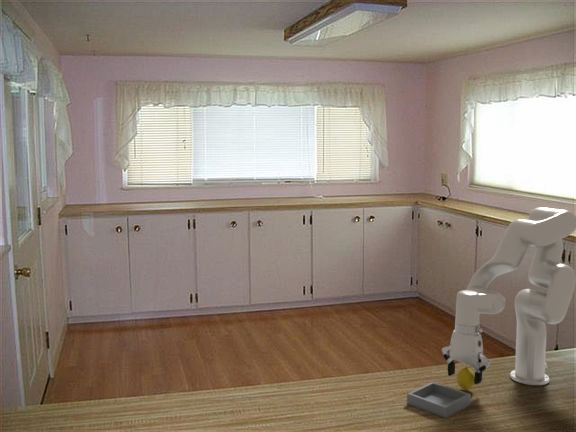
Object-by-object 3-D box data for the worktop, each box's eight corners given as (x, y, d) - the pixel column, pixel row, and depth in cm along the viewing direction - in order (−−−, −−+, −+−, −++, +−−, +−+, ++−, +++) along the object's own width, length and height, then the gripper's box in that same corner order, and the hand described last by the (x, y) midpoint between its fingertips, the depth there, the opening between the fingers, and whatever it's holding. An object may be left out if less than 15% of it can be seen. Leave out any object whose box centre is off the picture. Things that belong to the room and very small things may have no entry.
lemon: (475, 394, 189) (476, 370, 189) (457, 393, 190) (458, 369, 190) (473, 387, 195) (474, 364, 194) (456, 386, 196) (457, 363, 195)
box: (432, 391, 192) (432, 381, 191) (470, 405, 181) (470, 394, 181) (406, 404, 182) (407, 393, 182) (445, 419, 172) (446, 407, 172)
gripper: (497, 332, 186) (494, 384, 188) (449, 320, 199) (447, 369, 201) (485, 337, 181) (482, 389, 183) (437, 324, 194) (435, 374, 196)
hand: (464, 378), depth 192 cm, fingers open, 9 cm apart
